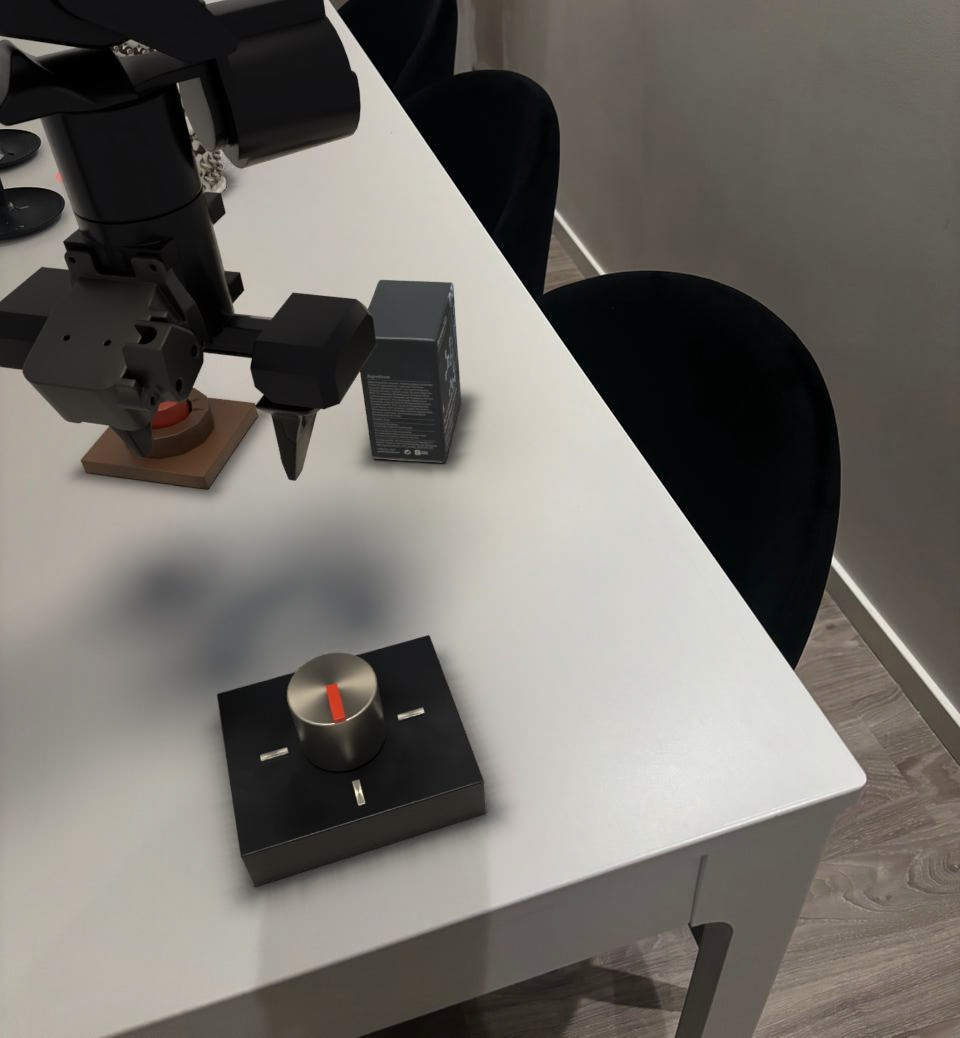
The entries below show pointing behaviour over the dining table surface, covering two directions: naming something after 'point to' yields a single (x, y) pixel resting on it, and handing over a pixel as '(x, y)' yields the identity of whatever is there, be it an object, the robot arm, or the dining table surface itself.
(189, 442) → the button block
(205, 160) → the decorative candle
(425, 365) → the box
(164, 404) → the button
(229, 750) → the panel
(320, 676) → the knob
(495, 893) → the dining table surface
